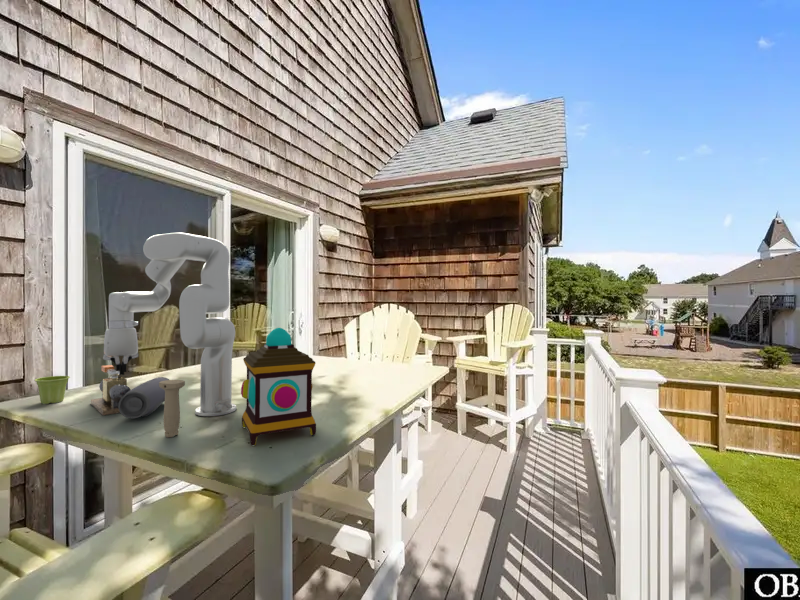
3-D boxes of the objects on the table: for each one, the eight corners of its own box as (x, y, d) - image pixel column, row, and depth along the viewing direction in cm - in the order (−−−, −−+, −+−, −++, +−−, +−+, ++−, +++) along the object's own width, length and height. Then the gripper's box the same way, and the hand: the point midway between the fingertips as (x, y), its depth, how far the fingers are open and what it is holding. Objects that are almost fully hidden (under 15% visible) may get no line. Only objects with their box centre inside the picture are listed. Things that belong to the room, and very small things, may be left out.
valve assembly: (146, 407, 133) (146, 377, 133) (103, 415, 124) (103, 382, 124) (130, 397, 146) (131, 369, 146) (90, 403, 137) (91, 373, 137)
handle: (174, 440, 103) (175, 384, 103) (154, 437, 105) (155, 382, 105) (188, 433, 108) (188, 380, 108) (168, 432, 109) (169, 379, 109)
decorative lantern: (322, 437, 107) (323, 329, 106) (246, 450, 97) (247, 331, 97) (302, 417, 124) (303, 324, 124) (236, 427, 114) (237, 326, 114)
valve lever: (120, 374, 134) (120, 369, 134) (110, 376, 132) (110, 370, 132) (110, 369, 144) (110, 364, 144) (101, 370, 142) (101, 365, 142)
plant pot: (53, 398, 145) (53, 375, 145) (76, 399, 144) (76, 375, 144) (27, 404, 135) (27, 380, 135) (51, 405, 134) (51, 381, 134)
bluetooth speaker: (146, 403, 138) (146, 375, 138) (175, 402, 140) (175, 375, 140) (115, 423, 116) (115, 390, 116) (149, 421, 118) (150, 389, 118)
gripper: (143, 324, 151) (143, 370, 151) (94, 325, 141) (94, 375, 141) (146, 325, 145) (146, 373, 145) (96, 326, 135) (96, 378, 135)
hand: (121, 374), depth 143 cm, fingers closed
